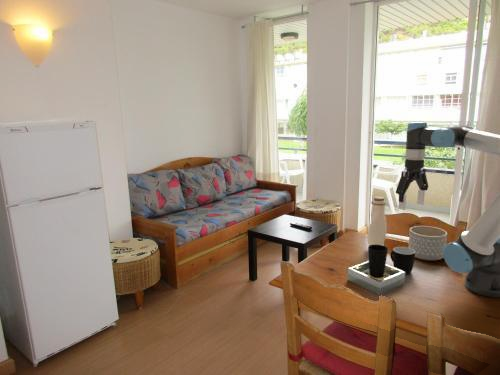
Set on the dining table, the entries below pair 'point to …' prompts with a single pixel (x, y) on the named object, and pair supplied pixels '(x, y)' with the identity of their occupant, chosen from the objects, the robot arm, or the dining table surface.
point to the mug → (403, 259)
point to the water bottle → (377, 222)
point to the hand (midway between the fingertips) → (411, 206)
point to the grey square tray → (376, 285)
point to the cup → (377, 260)
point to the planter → (427, 242)
